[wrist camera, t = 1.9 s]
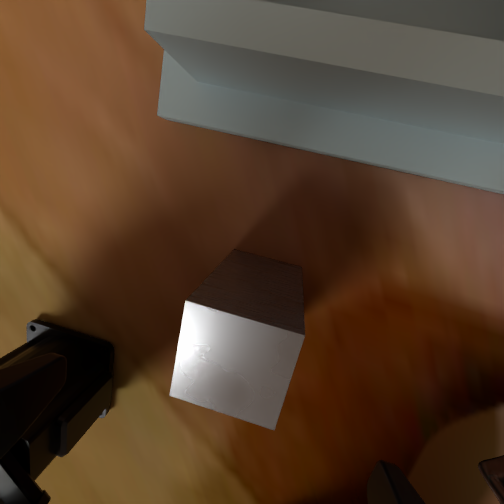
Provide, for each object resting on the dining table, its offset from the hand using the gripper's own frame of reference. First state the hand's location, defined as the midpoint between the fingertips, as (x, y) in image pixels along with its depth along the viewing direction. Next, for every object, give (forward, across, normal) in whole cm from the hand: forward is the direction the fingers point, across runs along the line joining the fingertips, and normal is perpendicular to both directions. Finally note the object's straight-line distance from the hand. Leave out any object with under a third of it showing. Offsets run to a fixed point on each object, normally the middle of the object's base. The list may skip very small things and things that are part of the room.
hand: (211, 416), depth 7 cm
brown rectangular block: (+9, 0, 0) cm, 9 cm away
